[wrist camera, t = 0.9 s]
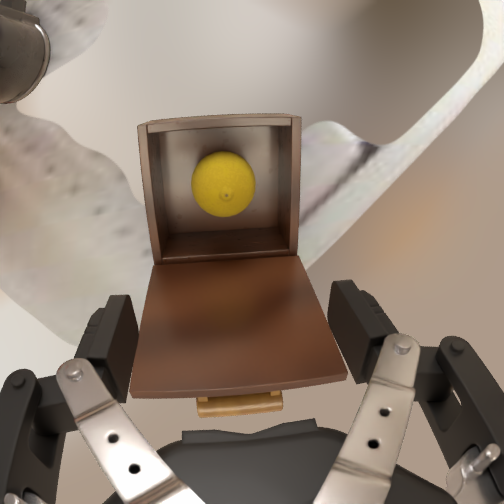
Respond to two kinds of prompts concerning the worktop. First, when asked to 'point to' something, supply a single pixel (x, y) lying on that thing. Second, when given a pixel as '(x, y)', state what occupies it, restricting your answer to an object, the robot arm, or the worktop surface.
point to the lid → (233, 336)
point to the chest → (198, 220)
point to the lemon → (223, 184)
